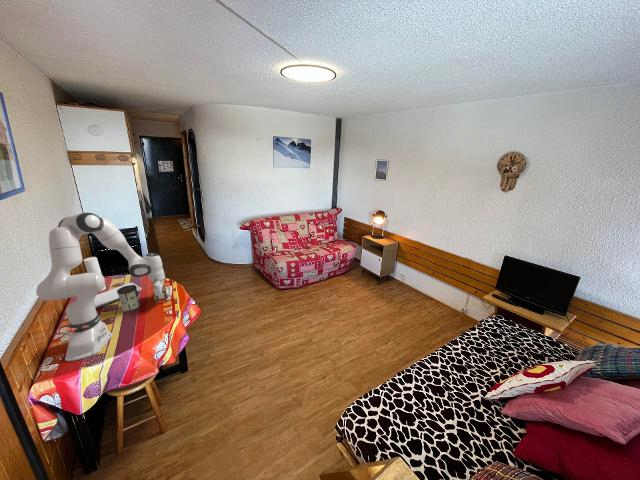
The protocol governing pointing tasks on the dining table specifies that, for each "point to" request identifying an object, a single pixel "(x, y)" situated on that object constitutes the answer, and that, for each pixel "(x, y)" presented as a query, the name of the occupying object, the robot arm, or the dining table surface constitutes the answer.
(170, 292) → the cream tray
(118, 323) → the dining table surface
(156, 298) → the brown open box frame
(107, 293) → the tray
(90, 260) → the cylindrical container
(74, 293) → the robot arm
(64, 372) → the dining table surface
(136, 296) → the coffee can
